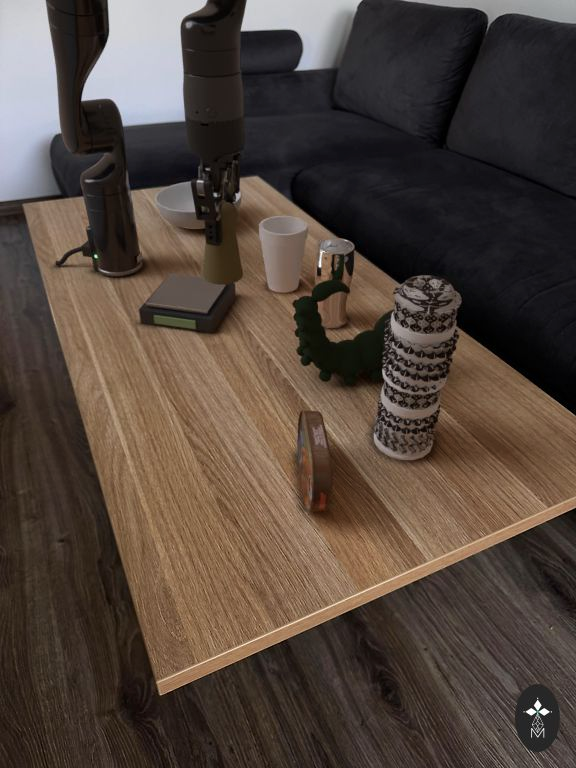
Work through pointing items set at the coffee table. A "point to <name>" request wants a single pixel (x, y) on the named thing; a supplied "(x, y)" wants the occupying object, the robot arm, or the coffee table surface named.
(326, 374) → the toy figurine
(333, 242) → the shiny silver cylinder
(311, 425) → the tin
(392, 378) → the white patterned cylinder
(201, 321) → the scale
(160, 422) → the coffee table surface
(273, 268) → the foam cup
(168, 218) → the serving bowl
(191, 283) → the scale platform
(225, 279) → the olive game pawn
